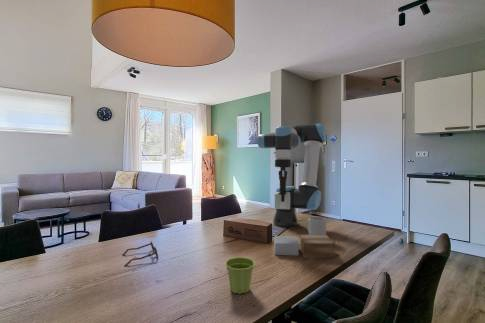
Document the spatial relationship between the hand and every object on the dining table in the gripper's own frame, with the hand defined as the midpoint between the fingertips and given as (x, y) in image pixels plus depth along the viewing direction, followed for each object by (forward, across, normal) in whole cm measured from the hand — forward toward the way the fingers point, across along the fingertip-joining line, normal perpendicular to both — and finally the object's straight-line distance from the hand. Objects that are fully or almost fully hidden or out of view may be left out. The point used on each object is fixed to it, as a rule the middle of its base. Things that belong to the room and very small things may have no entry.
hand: (282, 207), depth 124 cm
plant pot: (+20, +43, -14) cm, 49 cm away
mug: (+18, -11, +17) cm, 27 cm away
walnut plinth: (+18, +8, +15) cm, 25 cm away
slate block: (+18, +7, +2) cm, 20 cm away
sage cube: (0, 0, 0) cm, 0 cm away
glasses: (+20, +21, -60) cm, 67 cm away
